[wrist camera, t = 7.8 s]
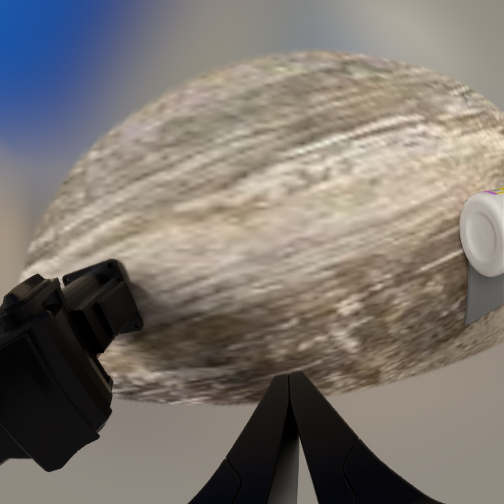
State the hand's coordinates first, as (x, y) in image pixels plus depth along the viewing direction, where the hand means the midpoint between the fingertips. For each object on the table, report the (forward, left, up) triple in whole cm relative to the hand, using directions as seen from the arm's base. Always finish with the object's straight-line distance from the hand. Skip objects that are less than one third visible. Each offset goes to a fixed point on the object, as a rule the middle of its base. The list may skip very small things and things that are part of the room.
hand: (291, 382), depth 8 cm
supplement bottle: (+16, -2, -9) cm, 18 cm away
